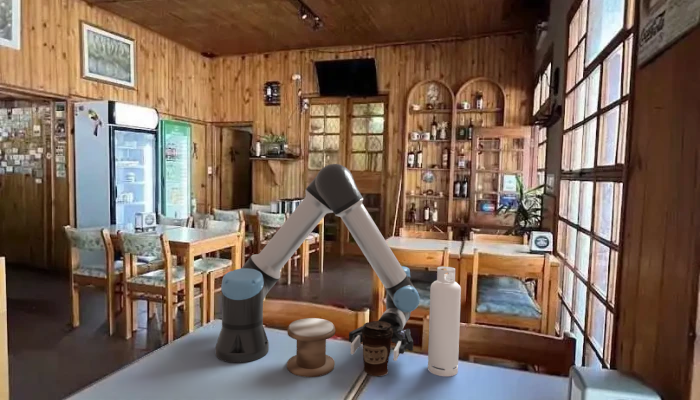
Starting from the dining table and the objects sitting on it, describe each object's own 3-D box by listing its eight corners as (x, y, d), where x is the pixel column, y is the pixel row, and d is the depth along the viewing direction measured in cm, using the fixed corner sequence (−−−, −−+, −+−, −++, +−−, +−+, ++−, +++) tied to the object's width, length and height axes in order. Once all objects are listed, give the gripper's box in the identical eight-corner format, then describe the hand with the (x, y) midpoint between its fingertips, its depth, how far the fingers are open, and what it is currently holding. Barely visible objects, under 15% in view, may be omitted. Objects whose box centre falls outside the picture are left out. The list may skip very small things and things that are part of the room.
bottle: (449, 361, 123) (453, 264, 121) (463, 375, 115) (467, 271, 113) (423, 364, 121) (426, 265, 119) (434, 377, 113) (438, 272, 111)
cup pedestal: (277, 365, 118) (277, 325, 118) (312, 351, 128) (312, 314, 127) (309, 382, 110) (309, 338, 109) (344, 365, 119) (345, 325, 118)
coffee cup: (390, 381, 111) (391, 331, 110) (358, 377, 113) (359, 328, 112) (393, 366, 119) (394, 320, 118) (363, 363, 121) (364, 317, 120)
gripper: (428, 341, 129) (417, 373, 108) (354, 331, 136) (330, 359, 115) (429, 316, 129) (418, 344, 108) (355, 307, 136) (331, 332, 115)
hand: (373, 352), depth 112 cm, fingers open, 11 cm apart
